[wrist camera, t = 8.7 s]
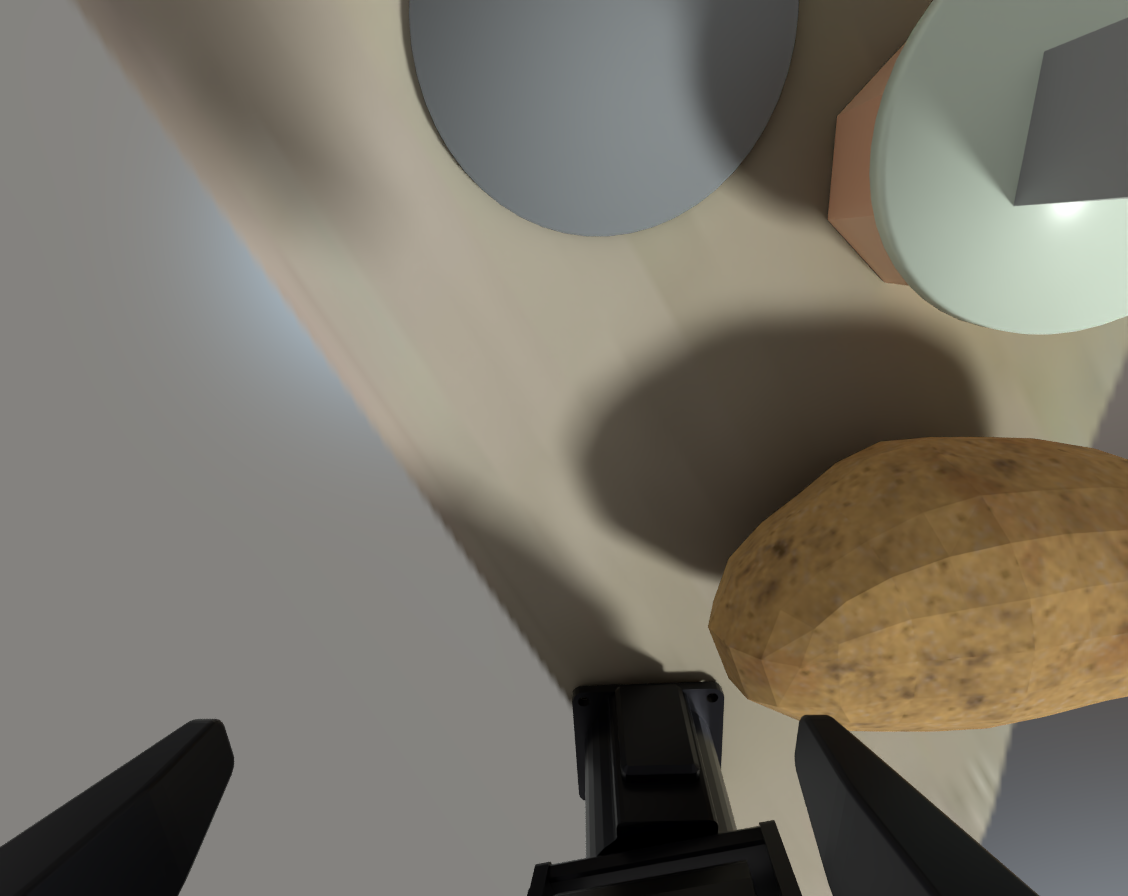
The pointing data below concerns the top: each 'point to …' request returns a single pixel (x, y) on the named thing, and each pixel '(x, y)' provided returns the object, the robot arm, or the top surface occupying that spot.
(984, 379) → the top surface
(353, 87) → the top surface
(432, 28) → the mat
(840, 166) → the cup
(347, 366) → the top surface
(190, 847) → the robot arm
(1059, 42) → the lid
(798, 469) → the top surface
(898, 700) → the potato
